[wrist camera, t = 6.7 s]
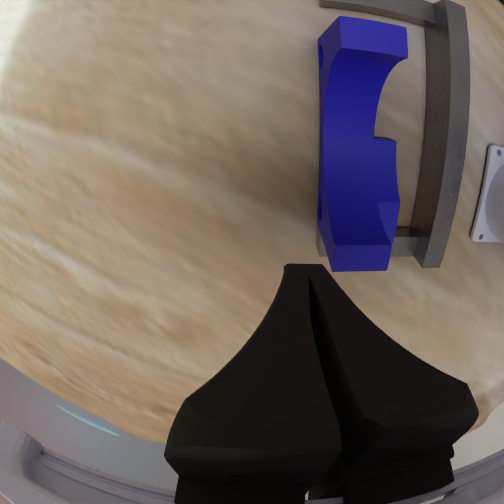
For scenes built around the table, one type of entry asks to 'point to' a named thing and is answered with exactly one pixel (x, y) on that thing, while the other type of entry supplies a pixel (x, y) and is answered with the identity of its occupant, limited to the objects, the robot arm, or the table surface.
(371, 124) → the cable clip
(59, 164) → the table surface
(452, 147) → the rail
